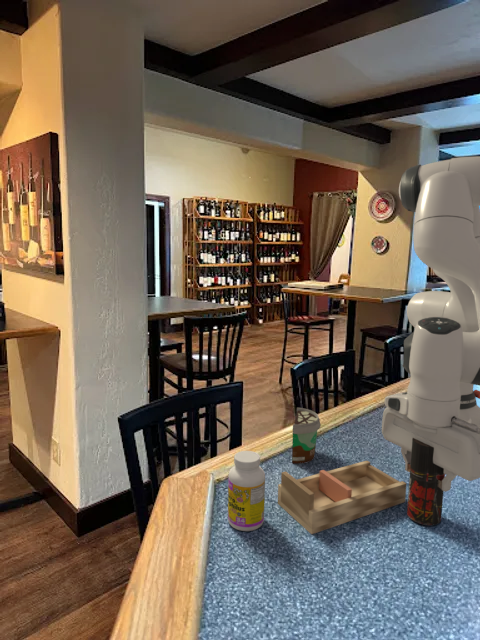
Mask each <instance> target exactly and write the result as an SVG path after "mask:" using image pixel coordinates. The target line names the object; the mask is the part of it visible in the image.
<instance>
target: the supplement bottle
mask: <svg viewBox="0 0 480 640" xmlns="http://www.w3.org/2000/svg"><path fill="white" fill-rule="evenodd" d="M233 464H234V465H233V466H232V467H231V468H230V470H229V472H228V480H227V482H228V486H227V488H228V489H227V491H228V492H227V493H228V494H227V522H228V524H229V525H230V526H231V527H232V528H233V529H235V530H237V531H240V532H241V531H242V532H250V531H251V532H252V531H256V530H257V529H259V528H261V527H262V525H263V524H264V522H265V521H264V520H265V498H266V497H265V495H266V494H265V493H266V491H265V490H266V473H265V470H264V469H263V468H262V467H261V466H260V465H261V455H260V454H259V453H257V452H256V451H252V450H241V451H238V452H236V453H234V458H233Z"/></svg>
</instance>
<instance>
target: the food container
mask: <svg viewBox="0 0 480 640" xmlns="http://www.w3.org/2000/svg"><path fill="white" fill-rule="evenodd" d="M321 425H322V424H321V419H320V417H319V415H318V413H316V412H315V411H313V410H311V409H307V408H303V407H296V416H295V418H294V423H293V424H292V441H291V442H292V446H291V447H292V449H291V451H292V454H291V464H296V465H298V464H299V465H300V464H306V463H310V462H312V461H313V460H314V459H315V454H316V447H317V445H316V444H317V435H318V430H320V428H321Z"/></svg>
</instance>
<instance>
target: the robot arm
mask: <svg viewBox="0 0 480 640" xmlns="http://www.w3.org/2000/svg"><path fill="white" fill-rule="evenodd" d="M400 178H401V179H400V182H399V187H398V194H399V195H398V196H399V199H400V201H401V205H402V207H403V208H404V209H406V210H407V212H412V213H415V214H414V218H413V219H414V221H413V230H412V231H413V232H412V233H413V235H412V236H413V238H412V239H413V249H414V250H413V251H414V253H415V255H416V256H417V258H419V260H420V261H421V262H422V263H423V264H424V265H425V266H427V267H428V268H431V269H432V272H433V273H434V274H435V275H436V276H437V277H438V278H440V279H442V280H443V281H444V282H445V284H447V287H448V288H449V291H450V292H449V291H440V290H428V291H422V292H417V293H415V294H414V295H413V296H412V297H411V299H410V300H409V301H408V304H407V306H406V316H407V319H408V322H409V323H410V324H411V326H413V328H414V331H413V332H411V333H410V334H409V335H408V336H407V337H406V338H405V339H404V340H403V364H402V368H404V370H405V371H406V372H407V373H408V375H410V381H409V384H408V386H407V389H406V390H407V391H406V392H400V393H399V392H398V393H395V394H390V395H386V396H385V397H384V405H385V407H386V408H384V410H383V413H382V420H381V434H382V436H383V438H384V439H385V440H386V441H388V442H390V443H392V444H394V445H396V446H398V447H400V453H401V455H402V457H403V460H404V463H405V464H404V465H405V466H404V471H406V472H408V473H410V466H411V452H412V439H413V438H414V439H417V440H419V441H421V442H423V443H425V444H427V445H430V446H432V447H434V454H433V463H434V464H436V465H438V466H440V467H442V468H444V474H445V477H443V478H442V479H438V485H437V487H438V488H439V489H441V490H443V491H444V492H449V491H450V490H451V488H452V482H453V480H455V478H457V476H458V477H459V478H461V479H464V480H466V481H468V482H471V481H475V480H478V479H480V406H479V405H478V403H477V399H479V400H480V390H478V389H474V386H480V156H479V155H478V156H477V155H476V156H475V155H474V156H462V157H461V156H460V157H452V158H450V159H446V160H439V161H434V162H431V163H427V164H424V165H422V164H417V165H414V166H411V167H409V168H407V169H405V171H404V172H403V173H402V175H401V177H400ZM444 492H443V493H444Z"/></svg>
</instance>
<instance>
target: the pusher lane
mask: <svg viewBox="0 0 480 640" xmlns="http://www.w3.org/2000/svg"><path fill="white" fill-rule="evenodd" d="M325 471H326V472H328V473H329V474H331V475H332V476H333V477H335V478H336V479H338V480H339V481H341V482H342V483H344V484H345V485H347V486H348V487H349V488H351V489H352V495H351V497H350V498H347V499H344V500H341V501H338V502H335V501H334V500H332V499H331V498H330V497H328V496H327V495H326V494H324V493H323V492H322V491H320V490H319V474H320V472H318V473H315V474H313V475H312V474H311V475H310V476H309V475H308V476H305V477H301V478H298V479H296V478H295V477H293V476H292V475H291V474H290V473H288V472H287V471H283V472H282V471H281V474H280V475H281V477H280V478H281V479H280V483H279V484H277V485H278V486H277V504H278V505H279V506H280V507H281V508H282V509H283V510H284V511H285V512H286V513H288V514H289V515H290V516H291V517H292V518H293V520H295V521H296V522H297V523H298V524H300V526H301V527H303V528H304V529H305V530H306V531H307V532H308V533H310V535H313V534H316V533H319V532H322V531H326V530H327V529H331V528H335V527H337V526H340V525H343V524H345V523H348V522H351V521H354V520H357V519H359V518H363V517H366V516H368V515H372V514H374V513H377V512H381V511H383V510H386V509H389V508H392V507H395V506H397V505H401V504H403V503H406V494H407V485H408V484H407V482H405V481H403V480H402V481H399V480H398V479H396V478H394V477H393V476H391V475H389V474H387V473H386V472H384V471H383V470H380V469H379V468H377V467H375V466H374V465H372V464H371V461H369V460H363V461H360V462H356V463H353V464H349V465H345V466H341V467H339V468H334V469H331V470H325Z"/></svg>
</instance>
